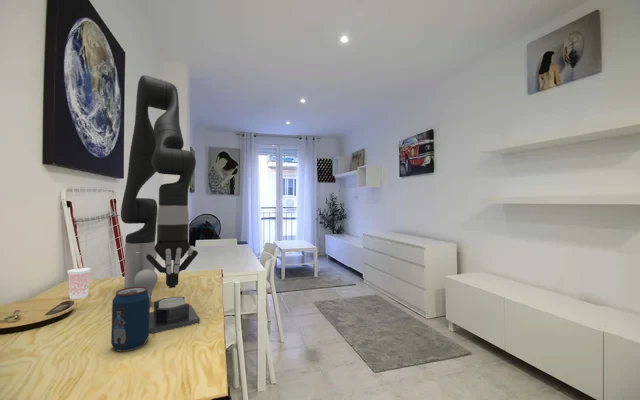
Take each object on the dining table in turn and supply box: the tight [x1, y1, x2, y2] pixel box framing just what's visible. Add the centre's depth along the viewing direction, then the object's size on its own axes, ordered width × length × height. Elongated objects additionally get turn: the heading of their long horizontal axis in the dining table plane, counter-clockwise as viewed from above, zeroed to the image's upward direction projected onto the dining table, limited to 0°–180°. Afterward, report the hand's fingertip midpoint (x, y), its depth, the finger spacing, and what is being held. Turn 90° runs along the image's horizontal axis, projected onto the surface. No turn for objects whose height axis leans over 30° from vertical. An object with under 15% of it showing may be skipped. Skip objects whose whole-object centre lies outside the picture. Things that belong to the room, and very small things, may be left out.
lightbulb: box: [134, 269, 158, 303], centre depth 87 cm, size 6×6×11 cm
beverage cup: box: [67, 254, 92, 300], centre depth 95 cm, size 6×6×14 cm
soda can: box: [110, 287, 151, 352], centre depth 63 cm, size 7×7×12 cm
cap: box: [159, 296, 184, 308], centre depth 76 cm, size 6×6×4 cm
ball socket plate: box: [149, 296, 201, 335], centre depth 76 cm, size 12×12×5 cm
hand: (171, 287), depth 76 cm, fingers closed
